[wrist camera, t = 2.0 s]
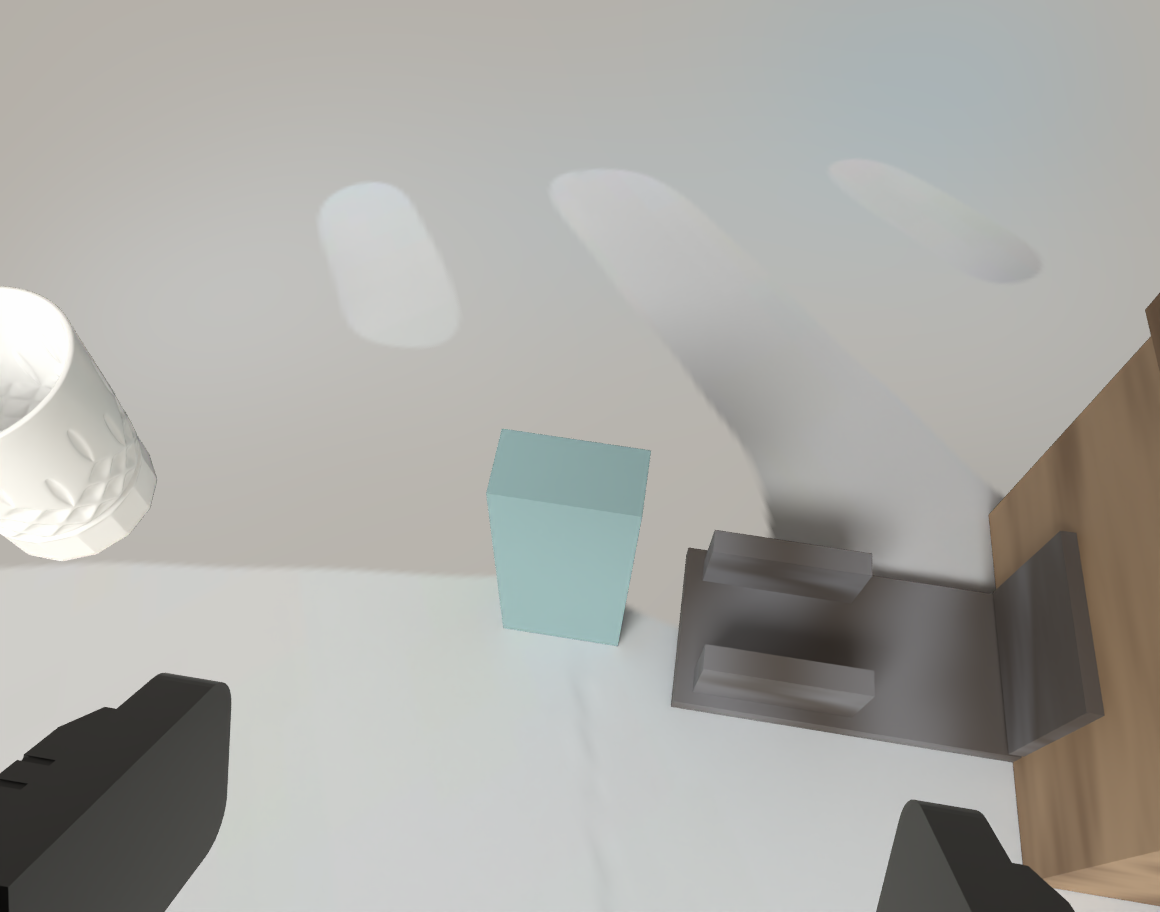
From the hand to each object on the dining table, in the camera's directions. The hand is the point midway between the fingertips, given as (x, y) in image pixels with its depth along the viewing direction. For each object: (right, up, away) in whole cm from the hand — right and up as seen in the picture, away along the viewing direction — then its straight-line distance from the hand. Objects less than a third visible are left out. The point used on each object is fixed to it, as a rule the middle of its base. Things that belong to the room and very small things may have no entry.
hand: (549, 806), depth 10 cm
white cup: (-23, +2, +31) cm, 39 cm away
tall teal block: (0, -3, +28) cm, 29 cm away
